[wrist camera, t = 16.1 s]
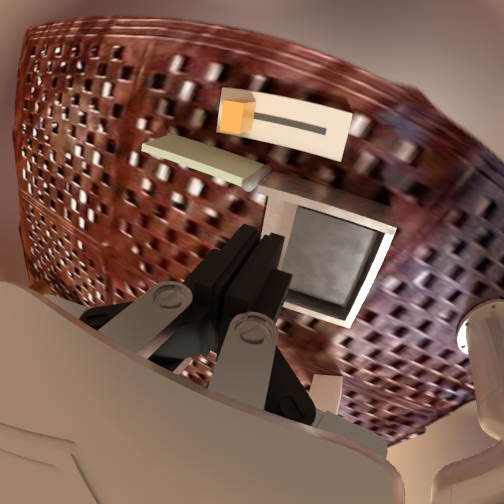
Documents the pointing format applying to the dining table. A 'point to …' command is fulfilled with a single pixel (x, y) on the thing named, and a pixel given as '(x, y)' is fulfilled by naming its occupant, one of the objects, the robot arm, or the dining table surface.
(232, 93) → the fader panel
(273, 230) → the grey open tray
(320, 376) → the milk
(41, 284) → the disposable coffee cup
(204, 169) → the door
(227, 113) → the fader knob
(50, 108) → the dining table surface
